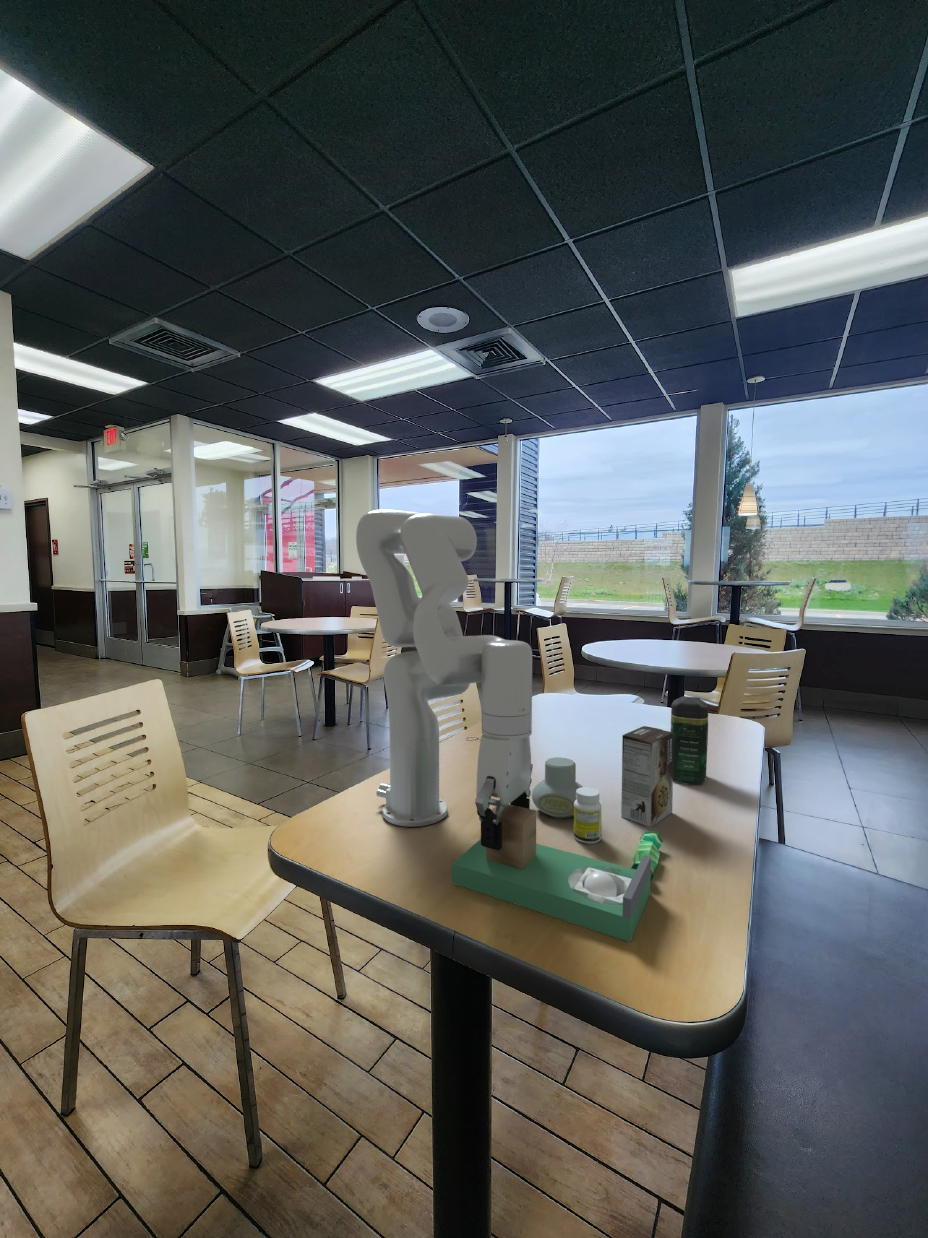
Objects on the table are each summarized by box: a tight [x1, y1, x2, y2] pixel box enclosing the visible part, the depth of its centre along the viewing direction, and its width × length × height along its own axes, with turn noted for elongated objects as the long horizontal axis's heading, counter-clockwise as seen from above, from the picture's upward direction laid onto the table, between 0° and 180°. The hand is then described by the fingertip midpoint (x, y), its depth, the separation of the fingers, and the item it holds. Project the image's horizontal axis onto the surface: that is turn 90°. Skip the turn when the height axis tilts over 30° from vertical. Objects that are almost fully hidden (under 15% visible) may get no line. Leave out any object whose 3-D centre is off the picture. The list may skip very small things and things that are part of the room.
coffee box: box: [620, 725, 674, 828], centre depth 102 cm, size 9×6×16 cm
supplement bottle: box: [573, 786, 602, 845], centre depth 93 cm, size 5×5×8 cm
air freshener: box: [531, 756, 584, 819], centre depth 104 cm, size 11×8×10 cm
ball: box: [584, 871, 617, 897], centre depth 74 cm, size 4×4×4 cm
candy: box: [630, 830, 664, 883], centre depth 84 cm, size 12×3×4 cm
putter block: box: [486, 804, 537, 870], centre depth 80 cm, size 6×5×7 cm
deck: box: [451, 838, 651, 943], centre depth 77 cm, size 26×12×6 cm, turn 60°
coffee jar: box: [670, 695, 709, 785], centre depth 121 cm, size 10×8×19 cm
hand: (506, 833), depth 81 cm, fingers open, 9 cm apart
